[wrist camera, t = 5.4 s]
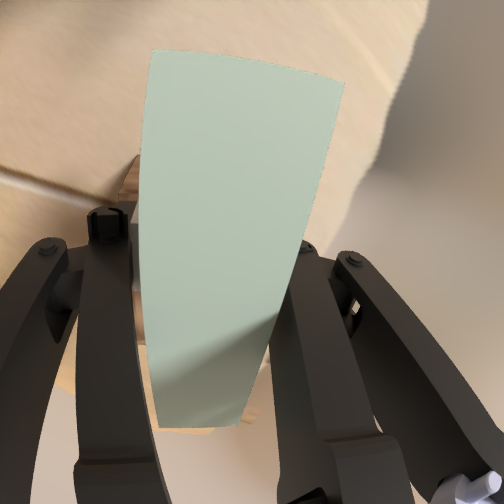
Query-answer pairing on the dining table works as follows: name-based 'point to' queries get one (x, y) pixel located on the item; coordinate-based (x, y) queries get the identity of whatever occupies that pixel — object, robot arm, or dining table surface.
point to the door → (222, 220)
